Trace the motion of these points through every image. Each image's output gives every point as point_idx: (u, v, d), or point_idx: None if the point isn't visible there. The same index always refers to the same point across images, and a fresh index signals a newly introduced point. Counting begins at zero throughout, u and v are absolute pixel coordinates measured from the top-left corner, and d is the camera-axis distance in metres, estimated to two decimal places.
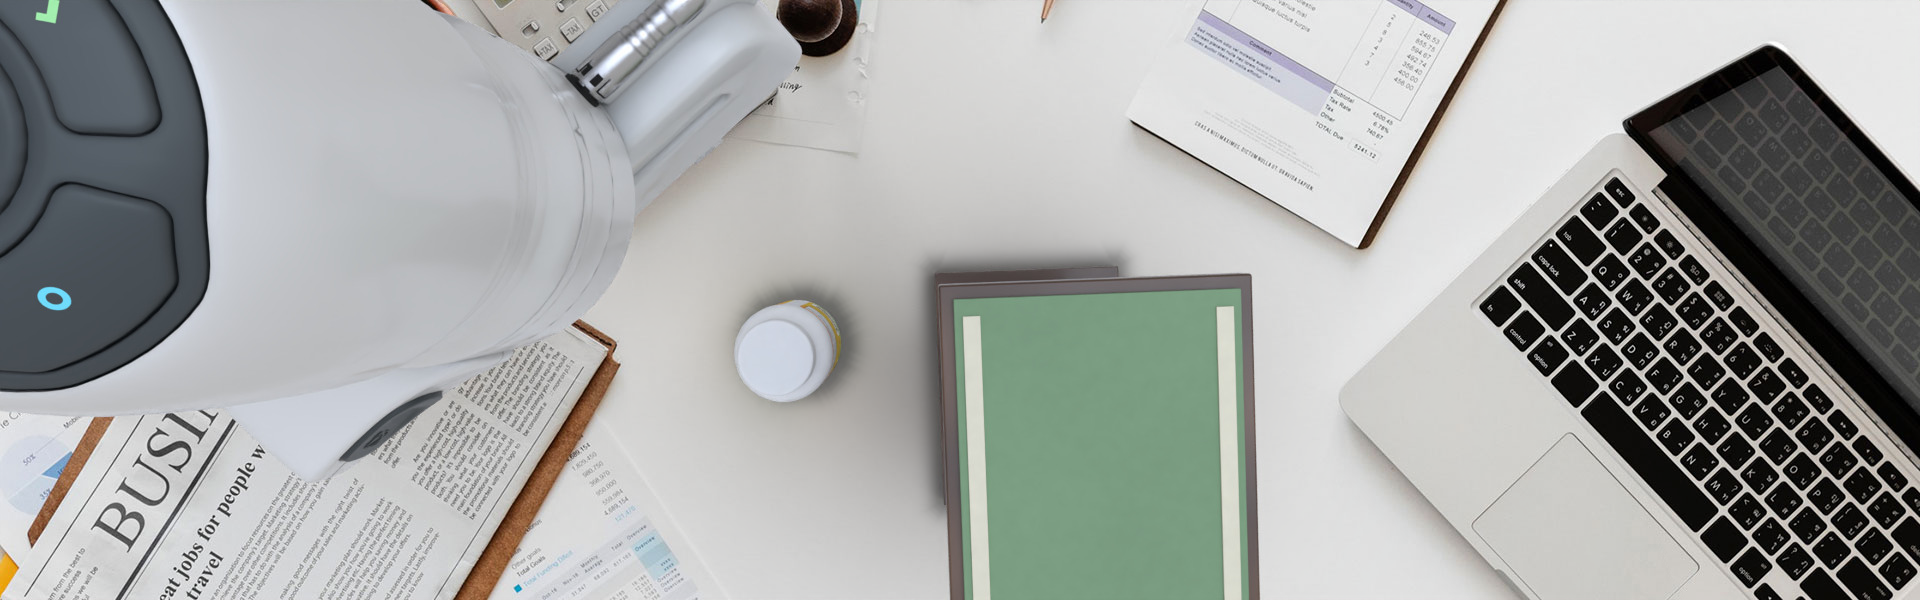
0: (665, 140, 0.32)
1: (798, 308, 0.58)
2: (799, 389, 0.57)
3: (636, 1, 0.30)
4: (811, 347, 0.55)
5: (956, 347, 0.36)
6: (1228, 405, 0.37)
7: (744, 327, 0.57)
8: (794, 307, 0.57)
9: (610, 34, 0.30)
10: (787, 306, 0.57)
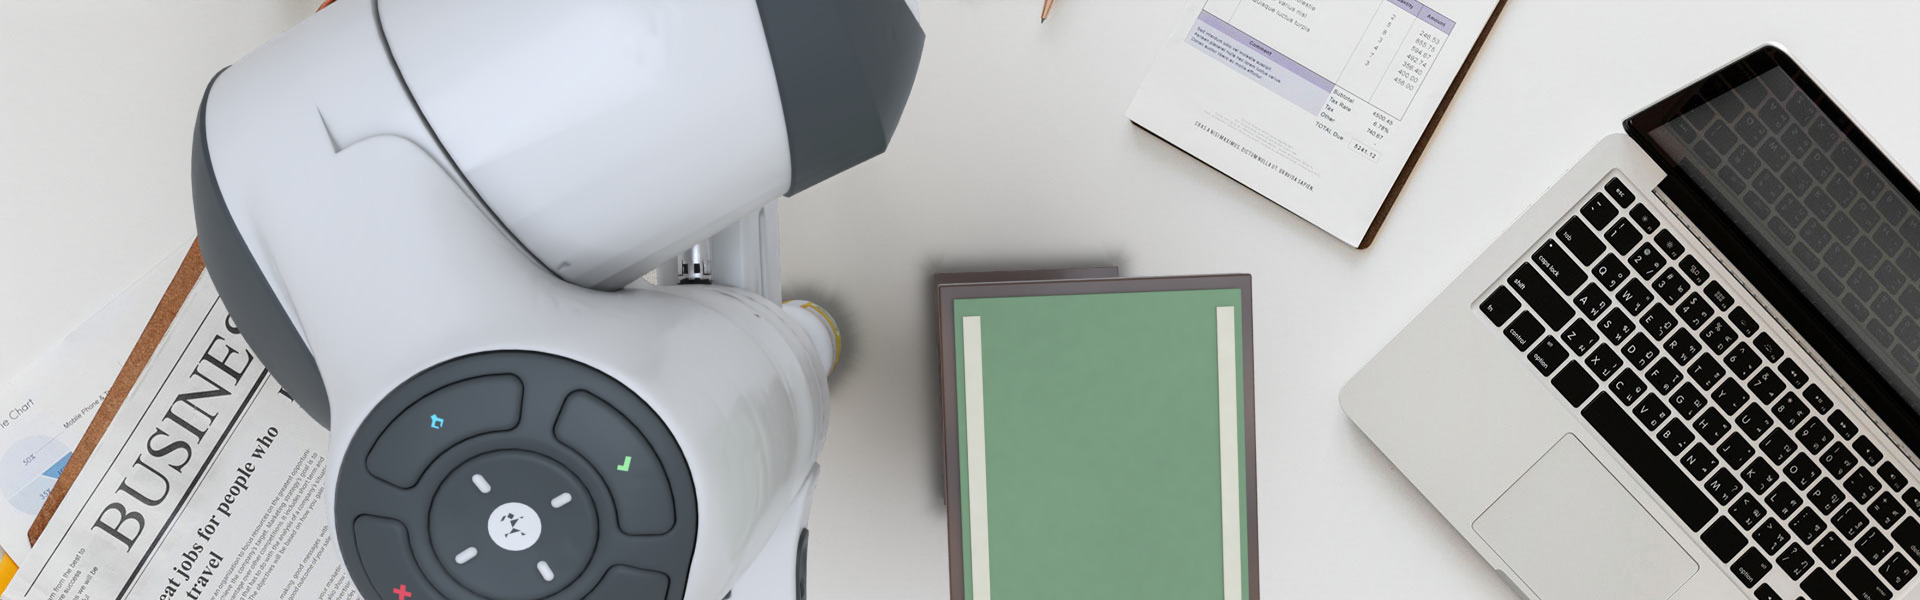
0: (760, 269, 0.40)
1: (798, 308, 0.58)
2: None
3: None
4: None
5: (956, 347, 0.36)
6: (1228, 405, 0.37)
7: None
8: (794, 307, 0.57)
9: None
10: (787, 306, 0.57)
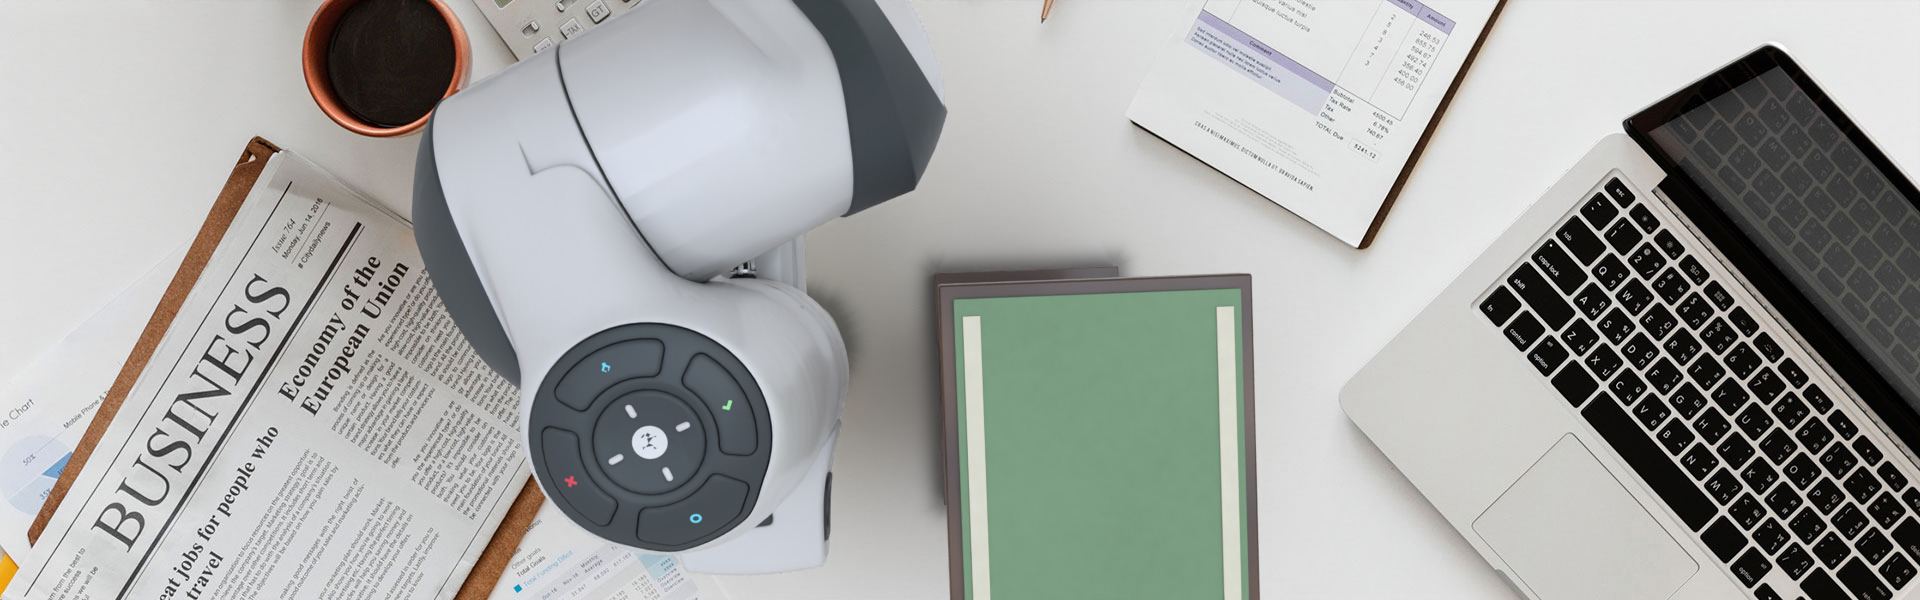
0: (792, 266, 0.49)
1: None
2: None
3: None
4: None
5: (956, 347, 0.36)
6: (1228, 405, 0.37)
7: None
8: None
9: None
10: None
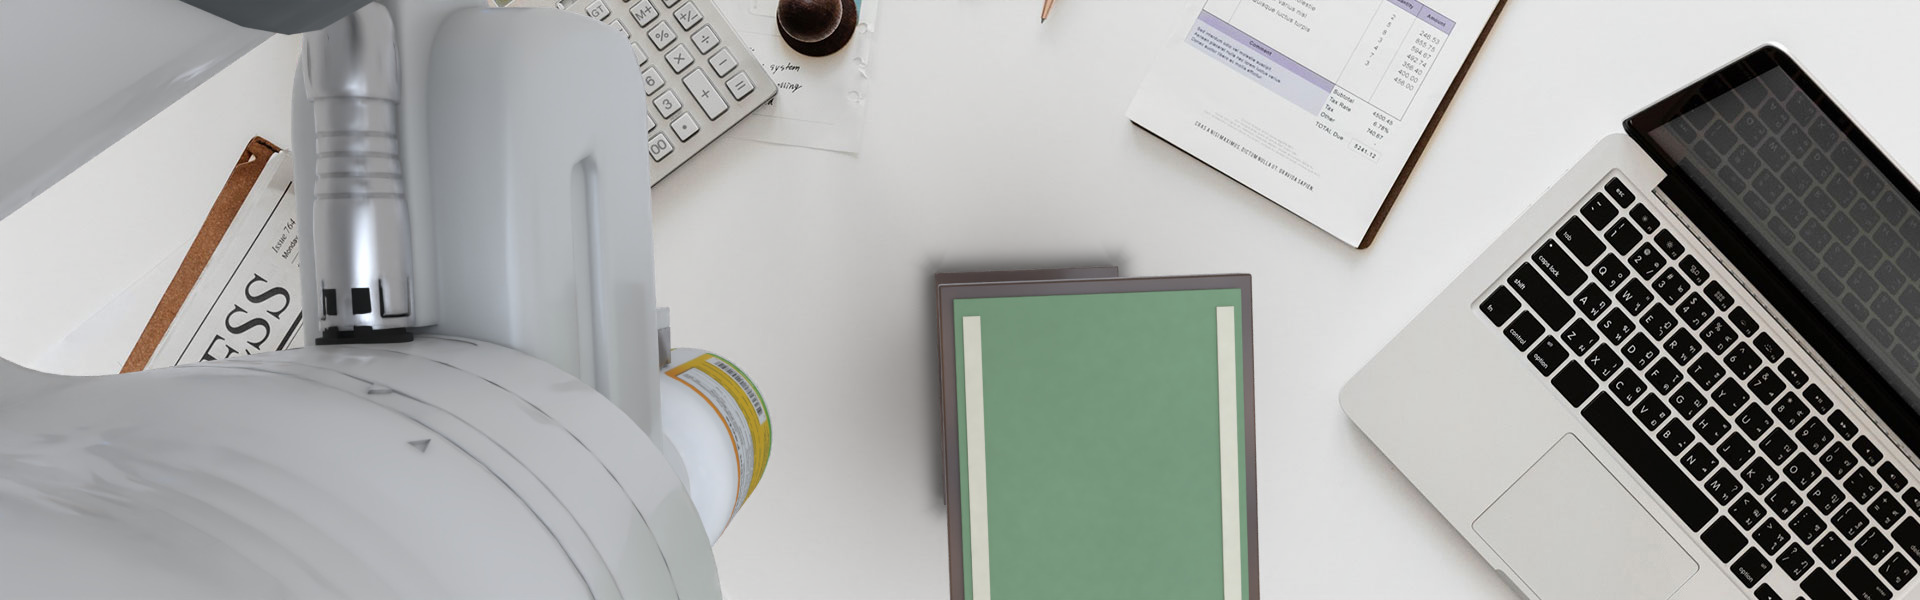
0: (574, 294, 0.17)
1: None
2: None
3: (313, 148, 0.15)
4: None
5: (956, 347, 0.36)
6: (1228, 405, 0.37)
7: None
8: None
9: None
10: None
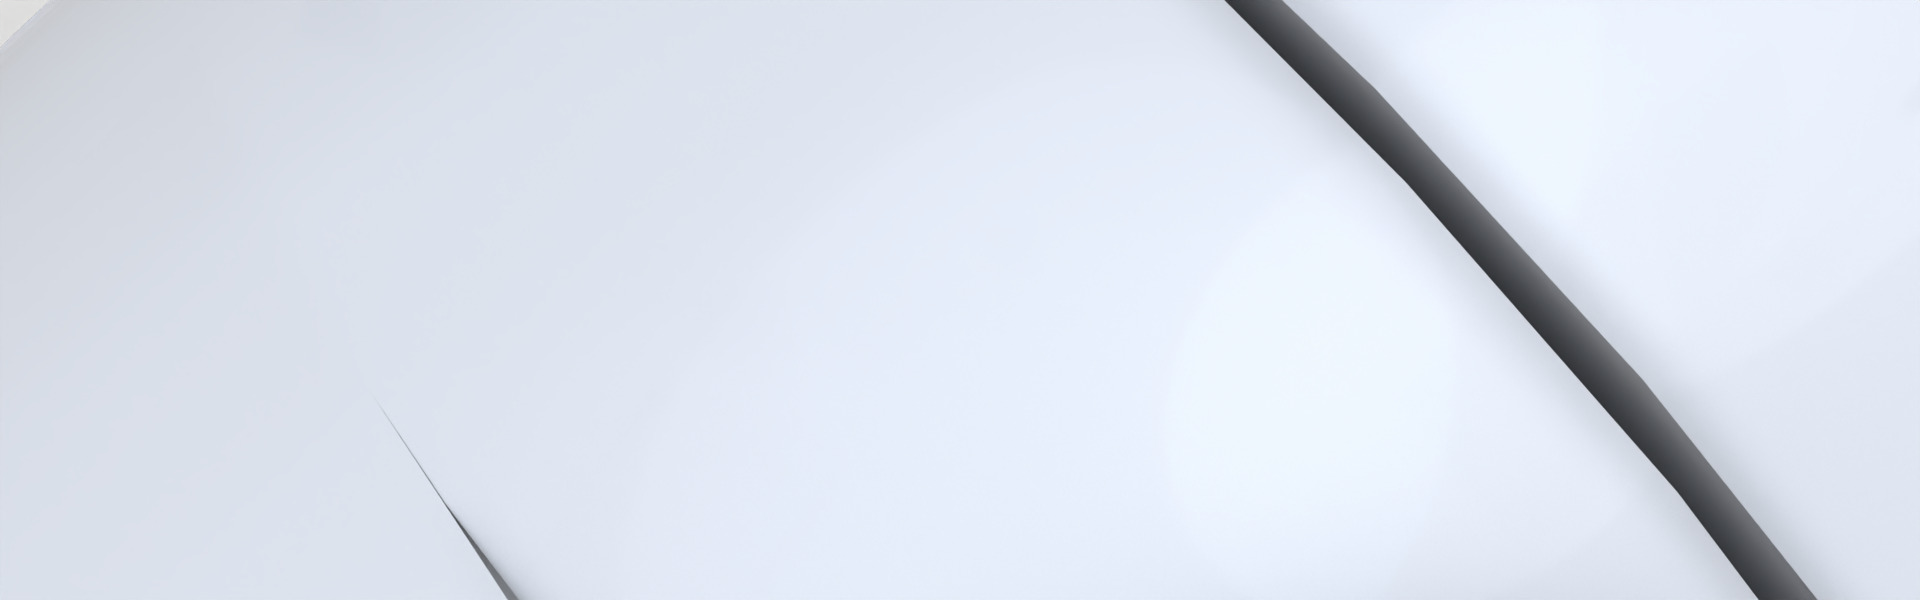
0: None
1: None
2: None
3: None
4: None
5: None
6: None
7: None
8: None
9: None
10: None
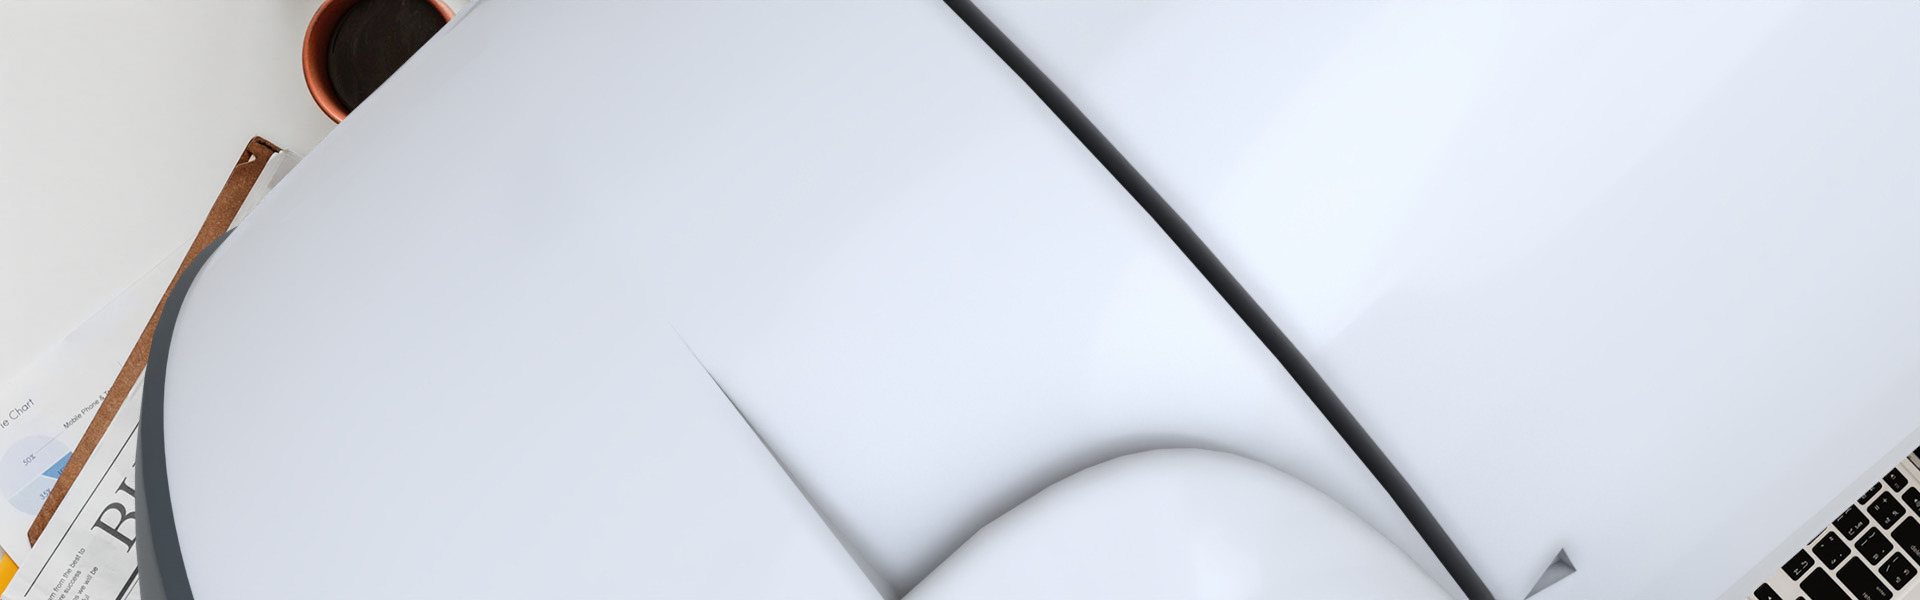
0: None
1: None
2: None
3: None
4: None
5: None
6: None
7: None
8: None
9: None
10: None
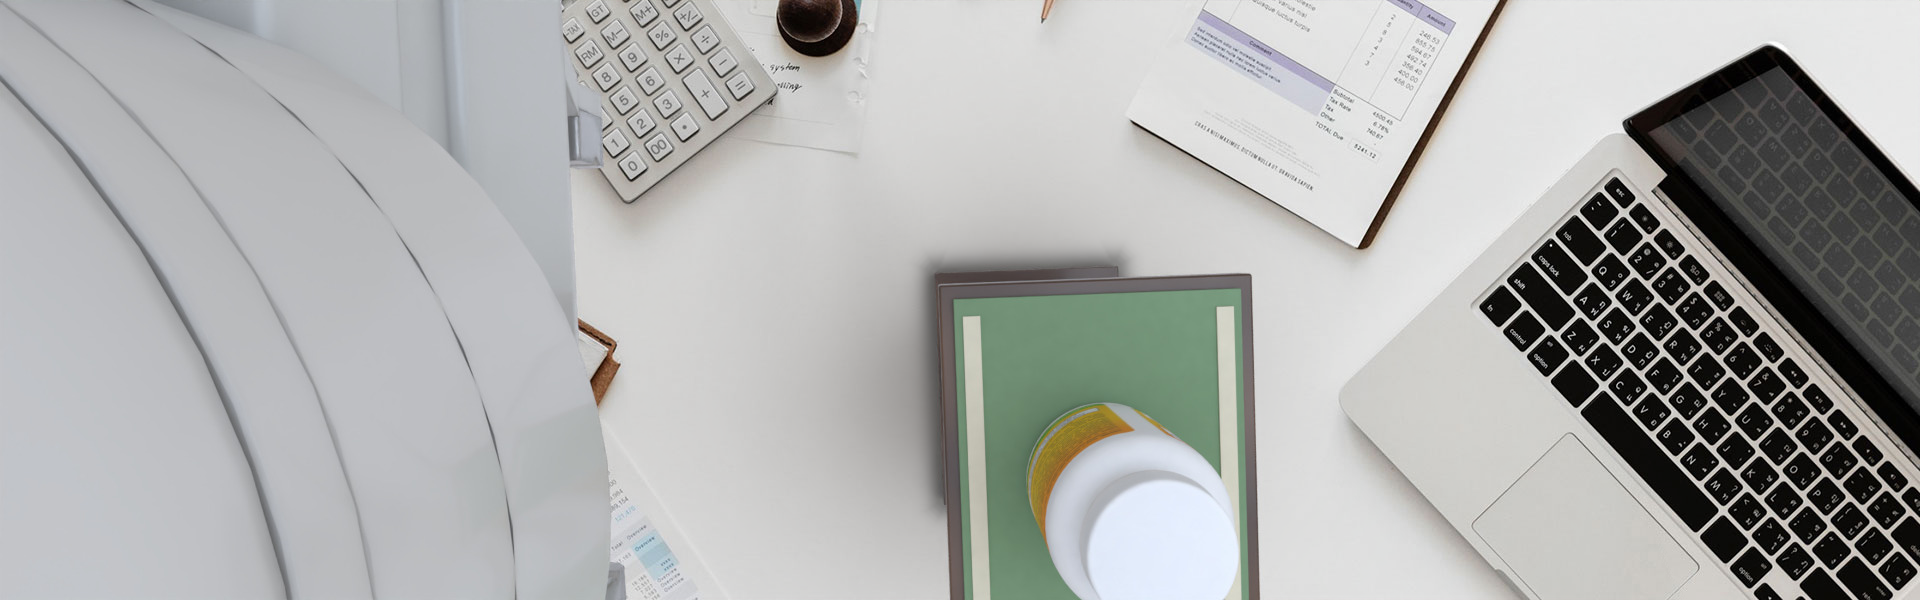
0: (394, 4, 0.11)
1: (1173, 442, 0.30)
2: None
3: None
4: (1235, 534, 0.27)
5: (956, 347, 0.36)
6: (1228, 405, 0.37)
7: (1073, 480, 0.29)
8: (1166, 440, 0.30)
9: None
10: (1153, 438, 0.30)
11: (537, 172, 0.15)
